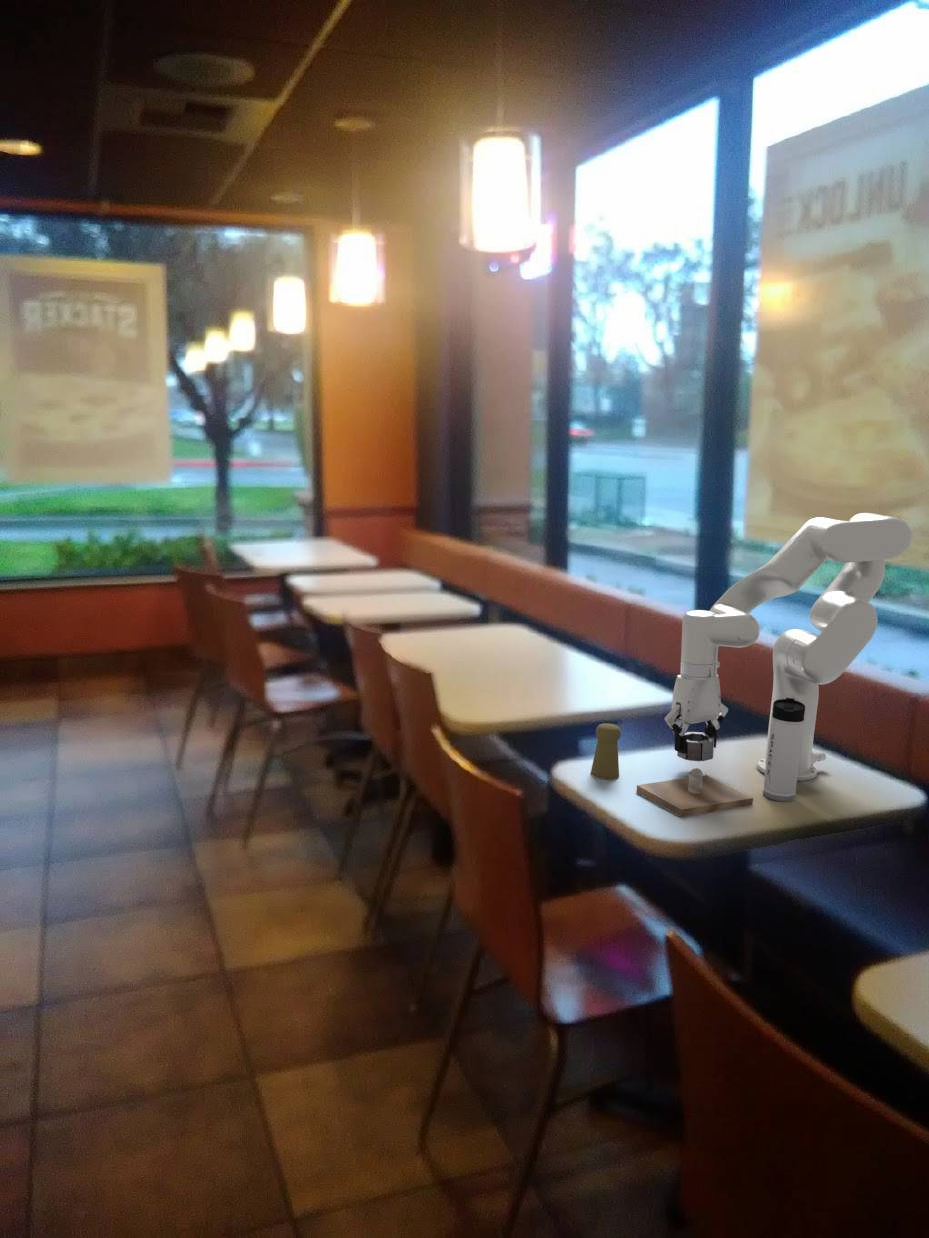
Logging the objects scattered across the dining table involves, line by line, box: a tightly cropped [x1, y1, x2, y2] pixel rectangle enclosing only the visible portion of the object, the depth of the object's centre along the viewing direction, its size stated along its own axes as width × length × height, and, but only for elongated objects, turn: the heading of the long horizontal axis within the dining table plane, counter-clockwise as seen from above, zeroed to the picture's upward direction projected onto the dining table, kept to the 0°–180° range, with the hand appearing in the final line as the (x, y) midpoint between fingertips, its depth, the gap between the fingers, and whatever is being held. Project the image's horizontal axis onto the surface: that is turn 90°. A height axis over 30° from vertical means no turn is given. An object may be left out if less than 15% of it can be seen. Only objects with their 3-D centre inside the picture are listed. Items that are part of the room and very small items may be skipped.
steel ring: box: [676, 731, 715, 762], centre depth 220 cm, size 7×7×4 cm
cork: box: [590, 722, 622, 781], centre depth 216 cm, size 6×6×11 cm
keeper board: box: [636, 767, 754, 818], centre depth 205 cm, size 18×14×6 cm
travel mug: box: [762, 698, 805, 803], centre depth 207 cm, size 6×7×20 cm
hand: (695, 748), depth 220 cm, fingers closed on steel ring, 7 cm apart
